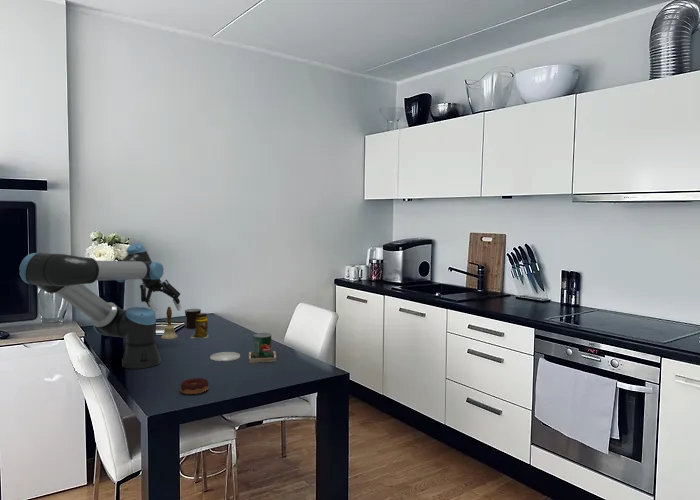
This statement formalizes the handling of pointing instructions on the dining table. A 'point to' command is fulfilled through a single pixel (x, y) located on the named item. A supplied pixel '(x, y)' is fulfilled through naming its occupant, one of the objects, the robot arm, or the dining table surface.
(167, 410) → the dining table surface
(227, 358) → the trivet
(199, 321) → the condiment
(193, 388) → the donut
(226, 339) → the dining table surface
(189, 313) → the coffee mug
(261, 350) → the canned tomato
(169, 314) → the hand bell
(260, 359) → the wooden tray
